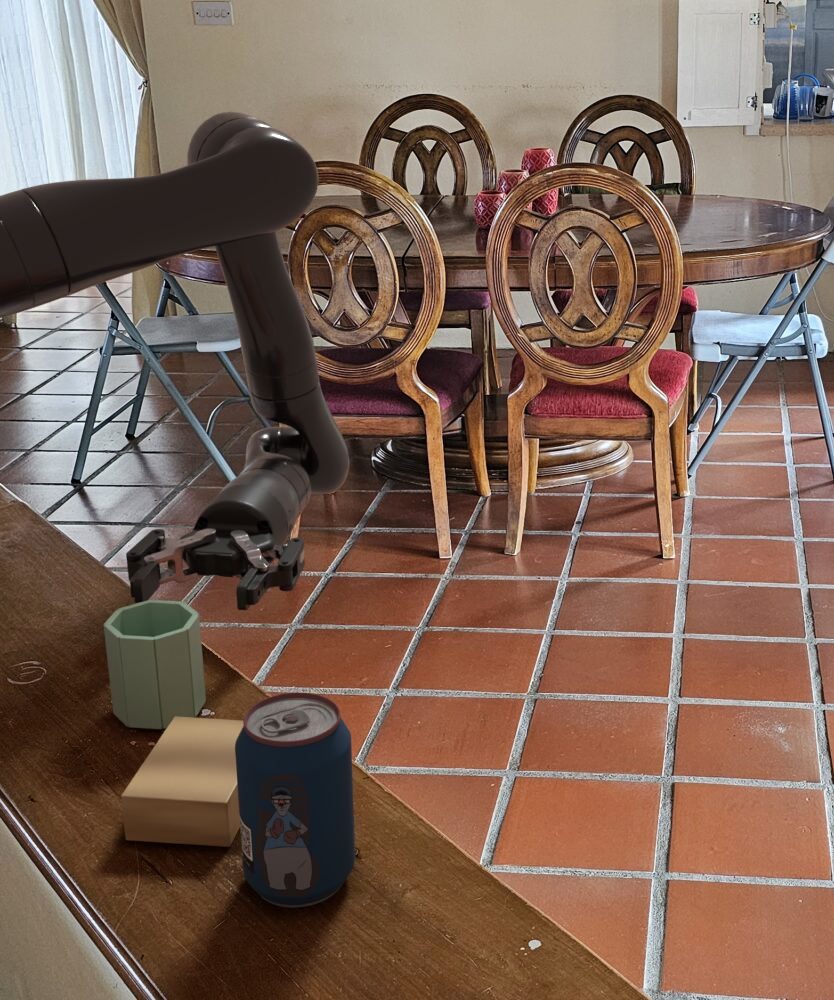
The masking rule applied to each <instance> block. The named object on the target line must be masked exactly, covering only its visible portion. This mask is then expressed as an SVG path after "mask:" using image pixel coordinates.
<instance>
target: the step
mask: <svg viewBox="0 0 834 1000" xmlns="http://www.w3.org/2000/svg"><path fill="white" fill-rule="evenodd" d="M243 721H244V720H239V719H225V718H223V719H222V718H207V717H196V718H193V717H178V716H175V717H174V718H173V720H172V721H171V723H170V724H169V726H168V727H167V729H166V730H165V731H163V733H162V734H161V736H160V737H159V739H158V741H157V742H156V744H155V745H154V746H153V748H152V749H151V751H150V752H149V754H148V755H147V757H146V758H145V760H144V761H143V763H142V764H141V766H140V767H139V769H138V770H137V772H136V773H135V775H133V778H131V780H130V782H129V783H128V785H127V786H126V788H125V789H124V791H123V792H122V794H121V795H120V801H121V811H122V818H123V826H124V838H125V841H133V842H147V843H149V842H150V843H163V844H177V845H178V844H180V845H191V846H192V845H194V846H207V847H208V846H211V847H225V848H230V847H231V846H232V844H233V841H234V840H235V838H236V835H237V834H238V832H239V830H240V815H239V801H238V786H237V771H236V756H235V743H236V740H237V738H238V736H239V734H240V732H241V730H242V728H243V726H244V724H243Z"/></svg>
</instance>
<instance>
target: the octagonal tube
mask: <svg viewBox="0 0 834 1000" xmlns="http://www.w3.org/2000/svg"><path fill="white" fill-rule="evenodd" d="M103 633H104V641H105V649H106V659H107V660H106V661H107V670H108V676H109V677H108V678H109V687H110V695H111V704H112V705H111V706H112V713H113V715H115V717H116V718H117V719H119V721H120V723H121V724H122V725H123V726H124V727H125V728H128V729H130V730H134V731H137V732H142V733H143V732H145V733H157V732H158V733H159V732H165V730H166V729H167V727H168V726H169V724H170V723H171V721H172V720H173V718H174V717H175V716H178V717H193V718H198V716H199V714H201V711H202V708H203V707H204V704H206V701H207V697H206V695H207V694H206V684H205V683H206V682H205V671H204V670H205V669H204V659H203V647H202V646H203V645H202V634H201V621H200V613H199V612H198V611H197V610H195V609H194V608H193V607H191V605H188V603H186V602H185V601H179V600H163V599H162V600H161V599H149V600H147V601H144V602H140V603H133V604H130V605H127V606H122V607H119V608H117V609H115V610H114V612H113V613H112V614H111V615H110V617H108V619H107V620H106V621H105V622H104V623H103Z"/></svg>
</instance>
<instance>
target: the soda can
mask: <svg viewBox="0 0 834 1000" xmlns="http://www.w3.org/2000/svg"><path fill="white" fill-rule="evenodd" d="M242 721H243V724H244V726H243V728H242V730H241V732H240V734H239V736H238V738H237V740H236V743H235V756H236V771H237V786H238V801H239V815H240V828H239V830H240V843H241V857H242V871H243V875H244V878H245V879H246V881H247V883H248V884H249V885H250V887H251V888H252V890H254V891H255V892H256V893H257V894H258V895H259V896H260V897H261V898H262V899H263V900H265V901H266V902H267V903H269V904H272V905H275V906H278V907H283V908H290V909H291V908H295V909H296V908H305V907H310V906H314V905H317V904H319V903H323V902H324V901H327V900H329V899H330V898H331V897H333V895H335V894H336V893H338V891H339V890H340V889H341V888H342V886H343V885H344V883H345V882H346V881H347V879H348V877H349V876H350V874H351V873H352V871H353V868H354V866H355V861H356V842H355V841H356V839H355V836H356V835H355V813H354V812H355V811H354V810H355V807H354V783H353V782H354V781H353V751H352V749H353V748H352V734H351V731H350V729H349V727H348V726H347V724H346V723H345V721H344V720H343V718H342V714H341V709H340V707H339V706H338V705H337V704H336V703H335V702H334V701H333V700H332V699H330V698H327V697H326V696H323V695H320V694H316V693H311V692H310V693H309V692H298V691H297V692H293V691H292V692H285V693H280V694H275V695H271V696H269V697H267V698H264V699H262V700H260V701H258V702H257V703H255V704H254V705H252V706H251V707H250V708H249V709H248V710H247V711H246V713H245V715H244V717H243V720H242Z"/></svg>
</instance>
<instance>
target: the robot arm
mask: <svg viewBox="0 0 834 1000" xmlns="http://www.w3.org/2000/svg"><path fill="white" fill-rule="evenodd" d="M318 188H319V171H318V168H317V165H316V162H315V161H314V158H313V157H312V155H311V154H310V152H308V150H307V149H306V148H305V147H304V146H303V145H302V144H301V143H299V141H297V140H296V139H295V138H294V137H292V136H291V135H289V134H287V133H286V132H284V131H282V130H280V129H278V128H276V127H274V126H272V125H270V124H268V123H266V122H265V121H263V120H261V119H259V118H257V117H255V116H252V115H249V114H246V113H243V112H237V111H226V112H225V111H224V112H219V113H217V114H213V115H212V116H210V117H209V118H207V119H205V120H204V121H203V122H202V123H201V124H199V126H198V127H197V128H196V130H195V131H194V132H193V135H192V136H191V138H190V142H189V144H188V148H187V154H186V165H185V166H182V167H178V168H176V169H173V170H169V171H166V172H163V173H157V174H153V175H146V176H137V177H122V178H93V179H76V180H65V181H58V182H49V183H43V184H37V185H33V186H27V187H25V188H21V189H18V190H14V191H11V192H7V193H4V194H1V195H0V319H2V318H5V317H9V316H13V315H15V314H19V313H22V312H26V311H28V310H32V309H35V308H38V307H42V306H44V305H46V304H50V303H52V302H55V301H59V300H61V299H64V298H66V297H69V296H71V295H76V294H77V293H80V292H82V291H84V290H87V289H90V288H92V287H95V286H97V285H100V284H103V283H105V282H108V281H111V280H115V279H117V278H121V277H124V276H126V275H129V274H132V273H135V272H137V271H141V270H143V269H146V268H148V267H151V266H154V265H156V264H159V263H163V262H165V261H167V260H170V259H173V258H176V257H179V256H183V255H186V254H189V253H193V252H196V251H201V250H204V249H209V248H213V247H214V248H215V251H216V254H217V258H218V262H219V264H220V267H221V270H222V274H223V277H224V281H225V284H226V287H227V291H228V296H229V299H230V303H231V306H232V312H233V314H234V319H235V324H236V328H237V333H238V338H239V343H240V349H241V353H242V359H243V364H244V370H245V376H246V380H247V386H248V392H249V397H250V401H251V405H252V407H253V409H254V411H255V413H256V414H257V415H258V416H260V417H261V418H262V419H265V420H268V421H271V422H274V423H276V424H280V425H285V426H268V427H264V428H262V429H258V430H257V431H255V432H253V434H251V436H250V437H249V439H248V442H247V445H246V448H245V449H246V451H245V462H244V467H243V470H241V472H240V473H239V474H238V475H237V477H235V478H233V479H232V480H230V481H228V483H227V484H226V485H224V487H223V488H222V489H221V490H220V491H219V492H218V493H217V494H216V496H214V498H213V499H212V500H211V502H210V503H209V504H207V506H206V507H205V508H204V509H203V510H202V512H201V513H200V514H199V516H198V517H197V519H196V521H195V524H194V526H193V528H192V531H190V532H188V533H185V534H184V535H182V536H180V538H171V537H170V538H169V537H166V532H165V530H164V529H163V528H155V529H152V530H151V531H149V532H148V533H147V534H146V535H144V537H142V538H141V540H139V541H138V542H137V543H136V544H135V545H133V547H132V548H130V549H129V550H128V551H126V553H125V555H126V556H125V558H126V568H127V576H128V581H129V586H130V595H131V597H130V598H131V599H132V598H133V599H134V602H135V603H134V604H137V603H140V602H144V601H147V600H149V601H150V600H151V599H150V598H152V596H153V595H154V594H155V593H156V592H157V591H158V589H159V588H160V586H161V585H164V584H167V583H169V582H172V581H174V582H175V583H177V584H183V583H185V582H188V581H191V580H193V579H197V578H199V577H202V576H205V577H210V576H218V577H223V578H234V577H235V578H236V579H240V581H239V583H238V584H237V586H236V590H235V591H236V593H235V594H236V607H237V610H238V611H248V610H249V609H250V607H251V606H255V605H256V604H258V603H259V602H260V601H261V599H262V597H263V596H264V595H265V594H268V593H270V592H271V590H272V588H278V589H279V591H281V592H291V591H293V590H294V588H295V587H296V584H297V583H298V580H299V578H300V576H301V574H302V572H303V570H304V569H305V566H306V557H305V539H304V538H302V537H293V538H290V539H289V541H288V543H287V542H286V541H287V539H288V538H289V537H290V535H291V534H292V532H293V530H294V527H295V525H296V522H297V521H298V519H299V518H300V516H301V514H302V513H303V511H305V509H306V507H307V506H308V504H309V502H310V499H311V496H312V495H328V494H333V493H335V492H336V491H338V490H339V489H341V487H342V486H343V485H344V484H345V482H346V480H347V478H348V476H349V471H350V455H349V449H348V446H347V444H346V440H345V438H344V436H343V434H342V432H341V430H340V428H339V426H338V424H337V422H336V420H335V418H334V416H333V414H332V411H331V410H330V408H329V405H328V404H327V401H326V398H325V396H324V393H323V390H322V387H321V386H322V385H321V381H320V374H319V369H318V362H317V355H316V349H315V343H314V339H313V334H312V331H311V328H310V324H309V321H308V319H307V315H306V312H305V311H304V308H303V306H302V303H301V300H300V298H299V296H298V293H297V291H296V289H295V286H294V284H293V281H292V278H291V276H290V273H289V271H288V268H287V266H286V262H285V259H284V254H283V252H282V250H281V245H280V241H279V236H278V231H280V230H283V229H285V228H287V227H288V226H290V225H293V224H294V223H295V222H296V221H298V220H299V219H300V218H302V216H303V215H304V214H305V213H306V212H307V211H308V210H309V208H310V206H312V203H313V202H314V199H315V197H316V194H317V193H318ZM285 542H286V543H285ZM275 559H276V560H278V562H277V565H271V564H272V563H273V562H274V561H275ZM183 562H184V563H185V564H186V566H187V567H188V568H185V569H184V564H183ZM162 563H163V564H164V563H167V569H166V570H165V571H161V564H162Z"/></svg>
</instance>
